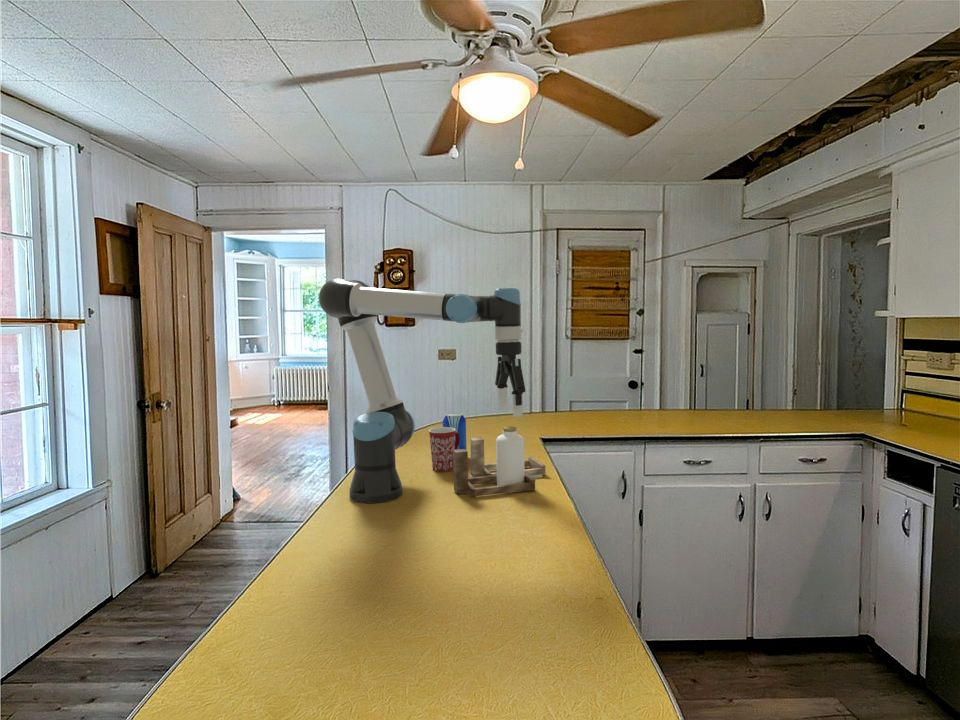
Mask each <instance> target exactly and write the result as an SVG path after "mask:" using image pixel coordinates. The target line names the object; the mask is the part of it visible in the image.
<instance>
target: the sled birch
mask: <svg viewBox="0 0 960 720" xmlns="http://www.w3.org/2000/svg"><path fill="white" fill-rule="evenodd" d="M469 439H470V440H469V441H470V476H471V477H481V476H491V475H497V462H492V463H485V439H484V438H482V437H471V438H469ZM524 467H525V473H527V474H528V475H529V476H530V475H539V474H542V475H543V476H545V475H546V472H547V471H546V465H545V464H544V463H543V462H540V460H538V459H537V458H535V457H534V456H528V458H527V459H524ZM526 468H528V469H526ZM491 471H496V472H491Z"/></svg>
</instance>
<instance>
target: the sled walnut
mask: <svg viewBox="0 0 960 720" xmlns="http://www.w3.org/2000/svg"><path fill="white" fill-rule="evenodd" d="M468 456H469V452H468V450H467V451H466V450H465V449H458V450H453V490H454V493H456V494H458V495H459V494H467V493H469V495H470V496H471V497H472V498H473V497H484V496H491V495H500V494H510V493H518V492H527V491H535V490H536V478H532V477H531V476H529V475H528V474H527V473H525V483H519V484H509V485H500V486H498V485H493V486H485V487H474V486H476V485H484V484H493V483H495V484H497V475H491V476H481V477H473V476H471V477H469V457H468Z"/></svg>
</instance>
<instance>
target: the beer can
mask: <svg viewBox="0 0 960 720" xmlns="http://www.w3.org/2000/svg"><path fill="white" fill-rule="evenodd" d="M466 421H467V419H466V418H465V417H464V413H462V412H448V413H445V414H444V417H443V420H442V427H450V428H454V429H456V432H458V433H459V435H460V442H459V447H458V449H465V450H466V451H468V450H467V448H468V447H467V422H466Z"/></svg>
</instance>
